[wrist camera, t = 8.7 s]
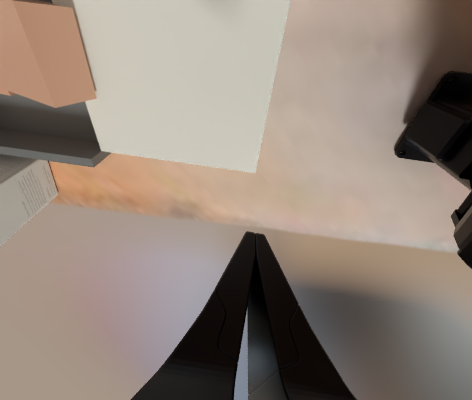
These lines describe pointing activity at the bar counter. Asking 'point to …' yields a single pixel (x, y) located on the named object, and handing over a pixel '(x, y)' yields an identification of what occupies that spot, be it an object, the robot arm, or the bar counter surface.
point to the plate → (182, 76)
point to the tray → (48, 131)
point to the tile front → (43, 53)
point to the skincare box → (22, 191)
